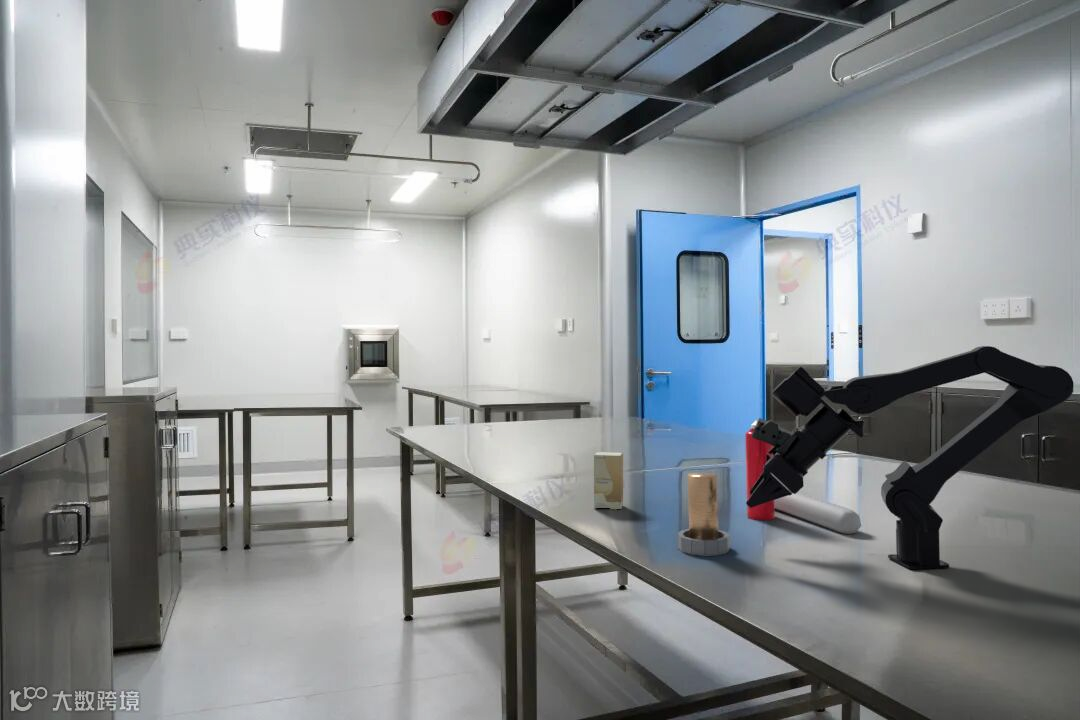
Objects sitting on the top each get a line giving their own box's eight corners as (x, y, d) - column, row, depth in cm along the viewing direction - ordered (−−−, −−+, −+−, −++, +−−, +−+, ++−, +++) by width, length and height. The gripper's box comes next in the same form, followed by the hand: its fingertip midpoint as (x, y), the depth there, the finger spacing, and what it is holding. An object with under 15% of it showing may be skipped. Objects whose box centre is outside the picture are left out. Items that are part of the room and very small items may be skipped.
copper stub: (724, 550, 122) (722, 475, 122) (700, 554, 120) (698, 478, 120) (707, 543, 126) (705, 471, 126) (684, 546, 125) (682, 474, 124)
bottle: (777, 515, 146) (775, 419, 145) (771, 521, 141) (769, 422, 141) (750, 512, 148) (748, 418, 148) (744, 518, 144) (741, 421, 143)
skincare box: (593, 509, 156) (592, 454, 156) (596, 505, 160) (595, 451, 160) (622, 510, 154) (620, 454, 154) (624, 505, 159) (623, 451, 158)
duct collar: (736, 554, 119) (736, 539, 119) (687, 556, 119) (686, 542, 119) (719, 540, 128) (719, 527, 128) (673, 543, 127) (672, 529, 127)
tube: (870, 513, 130) (787, 487, 154) (847, 506, 128) (767, 481, 152) (863, 541, 129) (781, 511, 154) (839, 535, 128) (760, 505, 152)
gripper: (780, 398, 127) (720, 457, 131) (778, 407, 110) (708, 475, 113) (828, 442, 124) (765, 501, 128) (834, 458, 107) (760, 526, 111)
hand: (749, 499), depth 120 cm, fingers open, 9 cm apart
